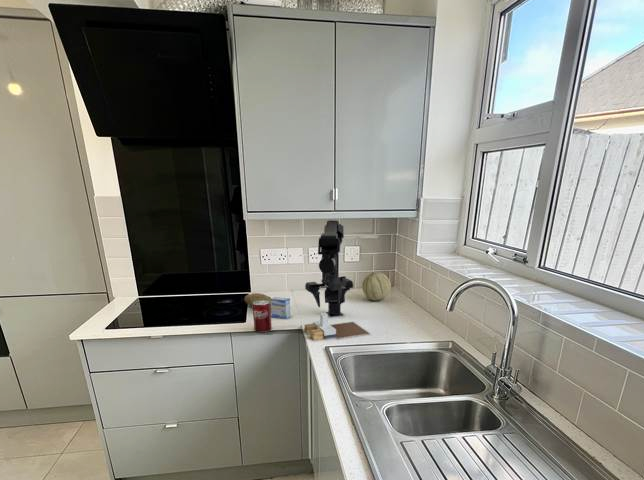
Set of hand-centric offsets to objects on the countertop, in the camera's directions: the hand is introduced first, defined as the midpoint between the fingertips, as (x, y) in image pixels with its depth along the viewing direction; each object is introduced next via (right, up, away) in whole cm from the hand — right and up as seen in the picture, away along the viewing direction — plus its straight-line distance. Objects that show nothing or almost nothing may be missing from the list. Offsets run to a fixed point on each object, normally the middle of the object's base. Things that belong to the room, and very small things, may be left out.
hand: (329, 305), depth 166 cm
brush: (-2, -11, +2) cm, 12 cm away
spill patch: (+7, -10, +5) cm, 13 cm away
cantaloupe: (+24, +8, +49) cm, 55 cm away
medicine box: (-23, -3, +23) cm, 32 cm away
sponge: (-35, +3, +36) cm, 51 cm away
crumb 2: (-5, -13, -3) cm, 15 cm away
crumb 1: (-8, -11, +3) cm, 14 cm away
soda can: (-28, -10, +6) cm, 30 cm away
